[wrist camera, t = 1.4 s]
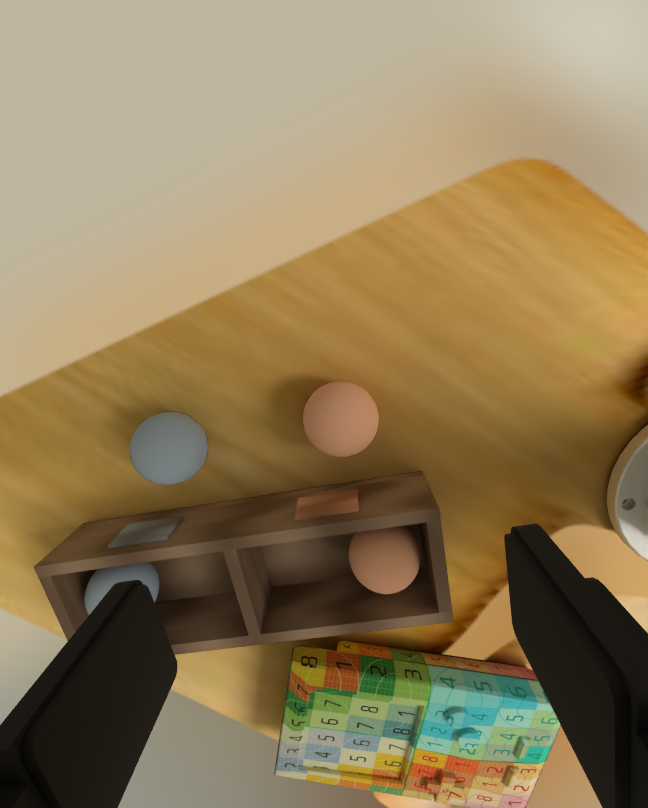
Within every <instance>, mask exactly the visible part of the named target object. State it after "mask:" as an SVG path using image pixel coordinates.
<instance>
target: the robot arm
mask: <svg viewBox="0 0 648 808" xmlns="http://www.w3.org/2000/svg"><path fill="white" fill-rule="evenodd" d="M607 508H608V513H609V518H610V521H611V523H612V525H613V527H614V530H615V532H616V533H617V534H618V535H619V537H620V538H621V539H622V541H623V542H624V543H625V544H626V545H627V546H629V547H630V548H631V549H632V550H633V551H634V552H635V553H636V554H637V555H639V556H640V557H642V558H643V559H645V560H646V561H648V425H646V426H645V427H644V428H643V429H642V430H641V431H640V432H639V433H638V434H637V435H636V436H635V437H634V438H633V439H632V440H631V441H630V442H629V444H628V445H627V447H626V448H625V449H624V451H623V452H622V453H621V455H620V456H619V458H618V460H617V462H616V464H615V466H614V468H613V470H612V473H611V477H610V481H609V484H608V490H607ZM504 538H505V550H506V561H507V572H508V583H509V594H510V604H511V615H512V624H513V629H514V631H515V635H516V637H517V639H518V642H519V644H520V646H521V648H522V649H523V651H524V653H525V655H526V657H527V659H528V661H529V663H530V665H531V667H532V669H533V671H534V673H535V675H536V677H537V679H538V681H539V683H540V685H541V687H542V689H543V691H544V693H545V695H546V697H547V699H548V701H549V703H550V705H551V707H552V709H553V711H554V713H555V715H556V717H557V719H558V721H559V723H560V724H561V726H562V728H563V730H564V732H565V734H566V736H567V738H568V740H569V742H570V744H571V746H572V748H573V750H574V752H575V754H576V756H577V758H578V760H579V762H580V764H581V766H582V768H583V770H584V772H585V774H586V776H587V778H588V780H589V781H590V783H591V786H592V788H593V790H594V791H595V794H596V796H597V797H598V799H599V801H600V803H601V805H602V807H603V808H648V633H647V632H646V631H645V630H644V629H643V628H642V627H641V626H640V624H639V623H638V622H637V621H636V620H635V619H634V618H633V617H632V616H631V615H630V613H629V612H628V611H627V610H626V609H625V608H624V607H623V606H622V605H621V603H620V602H619V601H618V600H617V599H616V598H615V597H614V596H613V595H612V593H611V592H610V591H609V590H608V589H607V588H606V587H605V586H604V585H603V584H602V583H601V582H600V581H599V580H597V579H595V578H584V577H583V576H582V574H581V573H580V572H579V571H578V570H577V569H576V567H575V566H574V565H573V564H572V563H571V562H570V560H569V559H568V558H567V557H566V556H565V555H564V553H563V552H562V551H561V550H560V549H559V548H558V546H557V545H556V544H555V543H554V542H553V541H552V539H551V538H550V537H549V536H548V535H547V534H546V532H545V531H544V530H543V529H542V528H541V527H540V526H539V525H538V524H529V525H522V526H515V527H512V528H511V533H510V534H505V537H504ZM176 674H177V660H176V658H175V655H174V652H173V650H172V647H171V645H170V642H169V639H168V637H167V634H166V632H165V629H164V626H163V624H162V621H161V618H160V616H159V613H158V611H157V608H156V605H155V603H154V600H153V598H152V595H151V592H150V590H149V588H148V586H147V585H144V584H143V583H142V582H141V581H140V580H131V581H124V582H118V583H116V584H114V585H113V586H112V587H111V589H110V590H109V591H108V592H107V594H106V595H105V596H104V597H103V599H102V600H101V601H100V602H99V603H98V605H97V606H96V607H95V608H94V610H93V611H92V612H91V613H90V615H89V616H88V617H87V618H86V620H85V621H84V622H83V623H82V625H81V626H80V627H79V628H78V630H77V631H76V632H75V633H74V635H73V636H72V637H71V638H70V639H69V641H68V642H67V643H66V645H65V646H64V647H63V648H62V649H61V651H60V652H59V653H58V654H57V656H56V657H55V658H54V659H53V661H52V662H51V663H50V664H49V666H48V667H47V668H46V669H45V671H44V672H43V673H42V674H41V675H40V677H39V678H38V679H37V680H36V682H35V683H34V684H33V685H32V687H31V688H30V689H29V690H28V692H27V693H26V694H25V695H24V697H23V698H22V699H21V700H20V702H19V703H18V704H17V705H16V706H15V708H14V709H13V710H12V711H11V713H10V714H9V715H8V716H7V718H6V719H5V720H4V721H3V723H2V724H1V725H0V808H118V805H119V803H120V801H121V799H122V796H123V794H124V792H125V790H126V787H127V785H128V783H129V781H130V778H131V776H132V774H133V772H134V769H135V767H136V765H137V763H138V761H139V758H140V756H141V754H142V751H143V749H144V747H145V745H146V742H147V740H148V738H149V735H150V733H151V731H152V729H153V727H154V725H155V722H156V720H157V718H158V716H159V713H160V711H161V709H162V707H163V704H164V702H165V700H166V698H167V695H168V693H169V691H170V689H171V686H172V684H173V682H174V680H175V677H176Z"/></svg>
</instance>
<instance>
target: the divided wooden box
mask: <svg viewBox="0 0 648 808" xmlns="http://www.w3.org/2000/svg"><path fill="white" fill-rule="evenodd" d="M397 526H405V527H406V528H407V529H408V530H409V531H410V532H411V533H412V534H413V536H414V538H415V539H416V541H417V544H418V547H419V551H420V566H419V570H418V573H417V575H416V577H415V579H414V580H413V581H412V583H411V584H410V585H409V586H408V587H406V588H405V589H403V590H402V591H399V592H397V593H393V594H381V593H376V592H373V591H371V590H369V589H368V588H366V587H365V586H364V585H362V584H361V583H360V582H359V580H358V579H357V578H356V576H355V575H354V573H353V571H352V568H351V565H350V561H349V547H350V543H351V540H352V538H353V536H354V534H355V532H362V531H369V530H376V529H383V528H390V527H397ZM144 562H150V563H151V564H152V565H153V566H154V567H155V569H156V571H157V573H158V577H159V591H158V595H157V598H156V601H155V605H156V608H157V611H158V613H159V616H160V618H161V621H162V624H163V626H164V629H165V632H166V634H167V637H168V639H169V642H170V645H171V647H172V650H173V652H174V655H175V654H183V653H192V652H200V651H209V650H217V649H226V648H234V647H243V646H251V645H260V644H269V643H277V642H286V641H294V640H303V639H311V638H320V637H328V636H337V635H345V634H354V633H362V632H371V631H379V630H388V629H396V628H405V627H413V626H422V625H430V624H439V623H447V622H453V614H452V606H451V598H450V590H449V583H448V575H447V567H446V559H445V551H444V544H443V536H442V528H441V520H440V512H439V507H438V505H437V503H436V501H435V499H434V496H433V494H432V492H431V490H430V488H429V486H428V483H427V481H426V479H425V477H424V475H423V473H422V471H420V472H413V473H407V474H400V475H394V476H387V477H381V478H374V479H368V480H361V481H355V482H349V483H342V484H336V485H329V486H323V487H316V488H310V489H303V490H297V491H290V492H284V493H277V494H271V495H265V496H258V497H252V498H245V499H239V500H232V501H226V502H219V503H213V504H206V505H200V506H193V507H187V508H181V509H174V510H168V511H161V512H155V513H148V514H142V515H135V516H129V517H122V518H116V519H110V520H103V521H97V522H90V523H84V524H82V525H81V526H80V527H79V528H78V529H77V530H75V531H74V532H73V533H72V534H71V535H70V536H69V537H67V538H66V539H65V540H64V541H63V542H62V543H61V544H59V545H58V546H57V547H56V548H55V549H54V550H53V551H51V552H50V553H49V554H48V555H47V556H46V557H45V558H43V559H42V560H41V561H40V562H39V563H38V564H37V565H35V566H34V569H35V571H36V573H37V575H38V577H39V580H40V582H41V584H42V586H43V588H44V590H45V593H46V595H47V597H48V599H49V601H50V603H51V606H52V608H53V610H54V612H55V614H56V616H57V619H58V621H59V623H60V625H61V627H62V629H63V632H64V634H65V636H66V638H67V640H68V641H69V639H70V638H71V637H72V636H73V635H74V633H75V632H76V631H77V630H78V628H79V627H80V626H81V625H82V623H83V622H84V621H85V620H86V618H87V617H88V616H89V614H88V612H87V610H86V607H85V592H86V588H87V585H88V583H89V581H90V579H91V577H92V576H93V574H94V573H95V572H96V571H97V570H98V569H102V568H109V567H116V566H123V565H130V564H137V563H144Z"/></svg>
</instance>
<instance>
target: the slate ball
mask: <svg viewBox="0 0 648 808" xmlns="http://www.w3.org/2000/svg"><path fill="white" fill-rule="evenodd" d="M207 453H208V441H207V437H206V434H205V432H204V430H203V428H202V427H201V426H200V424H199V423H198V422H197V421H195V420H194V419H193V418H191V417H189V416H187V415H185V414H182V413H177V412H164V413H159V414H156V415H154V416H151V417H150V418H148V419H146V420H145V421H144V422H143V423H141V424H140V426H139V427H138V428H137V429H136V431H135V432H134V434H133V436H132V439H131V442H130V457H131V461H132V463H133V466H134V467H135V469H136V470H137V472H138V473H139V474H140V475H141V476H142V477H144V478H145V479H147V480H149V481H151V482H153V483H156V484H161V485H174V484H178V483H181V482H184V481H186V480H188V479H190V478H191V477H193V476H194V475H195V474H196V473H197V472H198V471H199V470H200V469H201V467H202V466H203V464H204V462H205V460H206V457H207Z"/></svg>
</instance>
